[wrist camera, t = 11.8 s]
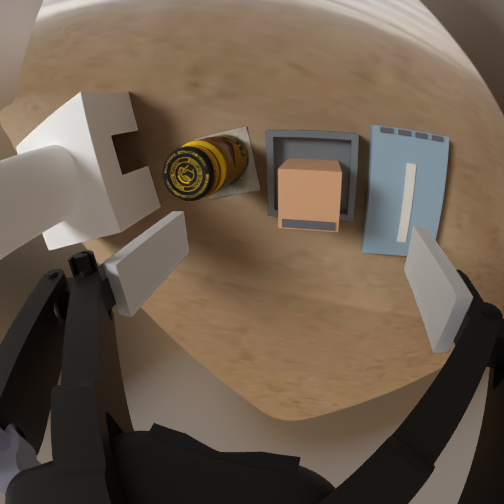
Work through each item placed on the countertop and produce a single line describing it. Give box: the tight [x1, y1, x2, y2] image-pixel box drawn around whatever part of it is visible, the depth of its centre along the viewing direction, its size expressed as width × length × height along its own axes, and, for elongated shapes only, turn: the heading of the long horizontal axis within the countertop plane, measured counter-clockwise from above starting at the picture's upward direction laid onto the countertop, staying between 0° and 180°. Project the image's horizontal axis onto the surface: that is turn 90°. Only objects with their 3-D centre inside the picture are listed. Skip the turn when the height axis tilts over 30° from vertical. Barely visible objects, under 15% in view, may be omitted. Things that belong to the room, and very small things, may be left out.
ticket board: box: [361, 125, 449, 256], centre depth 31 cm, size 16×10×2 cm, turn 2°
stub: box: [278, 158, 342, 232], centre depth 30 cm, size 6×6×8 cm
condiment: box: [163, 127, 260, 201], centre depth 31 cm, size 7×8×12 cm
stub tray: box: [266, 130, 359, 222], centre depth 33 cm, size 11×11×2 cm
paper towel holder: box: [0, 91, 161, 259], centre depth 27 cm, size 19×19×30 cm
